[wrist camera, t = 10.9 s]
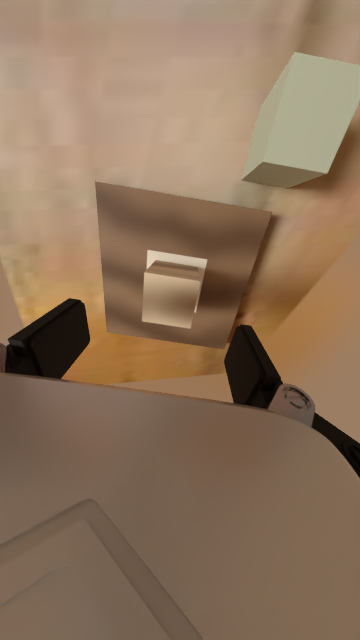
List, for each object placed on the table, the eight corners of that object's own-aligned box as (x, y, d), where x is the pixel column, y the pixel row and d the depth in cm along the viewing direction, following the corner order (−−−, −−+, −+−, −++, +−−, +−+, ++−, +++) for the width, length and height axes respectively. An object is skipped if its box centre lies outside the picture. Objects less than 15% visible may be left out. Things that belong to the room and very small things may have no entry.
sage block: (258, 110, 15) (294, 51, 10) (312, 120, 16) (374, 68, 10) (241, 180, 18) (262, 161, 13) (287, 188, 18) (327, 173, 13)
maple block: (155, 259, 20) (144, 272, 15) (197, 266, 20) (200, 281, 15) (152, 298, 23) (141, 321, 17) (190, 304, 23) (190, 328, 17)
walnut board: (104, 185, 19) (94, 181, 17) (264, 213, 19) (272, 212, 17) (112, 325, 27) (106, 332, 26) (222, 341, 28) (224, 349, 26)
